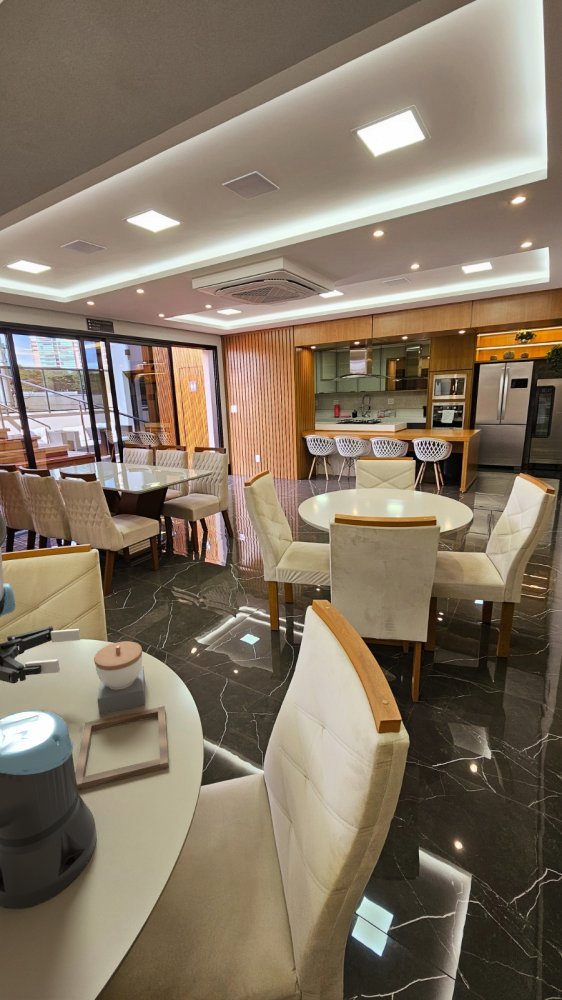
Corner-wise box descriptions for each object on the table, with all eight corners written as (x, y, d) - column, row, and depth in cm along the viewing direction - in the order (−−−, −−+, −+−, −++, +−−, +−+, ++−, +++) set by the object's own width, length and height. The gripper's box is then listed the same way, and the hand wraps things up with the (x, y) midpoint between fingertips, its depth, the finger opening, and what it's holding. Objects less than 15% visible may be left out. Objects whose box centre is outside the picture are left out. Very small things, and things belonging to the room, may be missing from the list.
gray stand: (144, 704, 103) (143, 690, 102) (99, 714, 100) (97, 699, 99) (144, 680, 112) (143, 666, 111) (103, 688, 109) (101, 673, 109)
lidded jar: (125, 700, 99) (121, 663, 97) (87, 691, 102) (82, 655, 100) (153, 672, 109) (150, 638, 106) (118, 665, 112) (114, 632, 110)
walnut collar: (168, 767, 85) (168, 762, 85) (73, 790, 80) (72, 785, 80) (165, 710, 101) (164, 705, 101) (85, 727, 96) (84, 722, 96)
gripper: (2, 643, 112) (88, 636, 114) (-61, 708, 88) (50, 697, 90) (-2, 616, 110) (85, 610, 112) (-68, 675, 86) (45, 665, 88)
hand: (69, 649), depth 101 cm, fingers open, 13 cm apart
